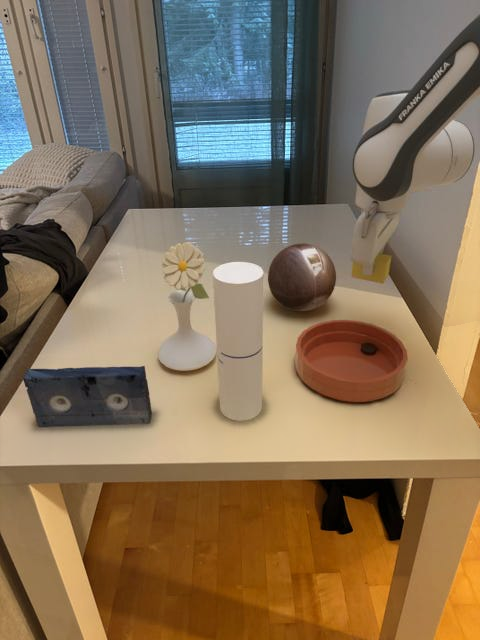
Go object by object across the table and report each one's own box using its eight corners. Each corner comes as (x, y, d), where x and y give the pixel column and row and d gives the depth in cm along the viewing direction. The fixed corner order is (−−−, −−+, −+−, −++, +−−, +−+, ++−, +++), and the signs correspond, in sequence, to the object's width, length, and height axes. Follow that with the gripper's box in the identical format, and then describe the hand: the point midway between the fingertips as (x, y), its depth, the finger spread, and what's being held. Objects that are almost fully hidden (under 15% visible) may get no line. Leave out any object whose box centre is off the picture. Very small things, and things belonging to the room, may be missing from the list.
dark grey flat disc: (379, 350, 91) (379, 346, 90) (371, 357, 89) (372, 353, 88) (365, 345, 92) (365, 340, 92) (357, 351, 90) (358, 347, 90)
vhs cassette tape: (153, 413, 78) (145, 365, 73) (150, 425, 75) (142, 376, 70) (43, 414, 78) (28, 366, 73) (37, 427, 75) (21, 378, 70)
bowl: (412, 356, 90) (417, 334, 88) (388, 419, 76) (393, 395, 73) (317, 331, 98) (318, 311, 96) (278, 384, 84) (279, 361, 81)
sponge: (388, 275, 88) (391, 255, 86) (383, 283, 85) (386, 263, 83) (357, 269, 91) (359, 249, 89) (351, 277, 88) (353, 257, 86)
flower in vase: (147, 357, 91) (129, 237, 78) (193, 335, 98) (184, 221, 85) (186, 389, 83) (173, 260, 70) (234, 363, 89) (230, 240, 76)
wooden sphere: (302, 331, 98) (306, 266, 91) (254, 306, 108) (254, 245, 100) (346, 307, 107) (353, 246, 99) (298, 286, 116) (301, 228, 109)
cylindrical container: (245, 427, 75) (243, 288, 62) (211, 409, 78) (202, 274, 65) (270, 402, 79) (273, 269, 66) (237, 387, 83) (233, 257, 70)
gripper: (386, 215, 71) (374, 295, 78) (412, 182, 86) (400, 251, 93) (345, 209, 73) (337, 287, 81) (378, 178, 89) (369, 246, 96)
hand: (371, 268), depth 87 cm, fingers closed on sponge, 4 cm apart
